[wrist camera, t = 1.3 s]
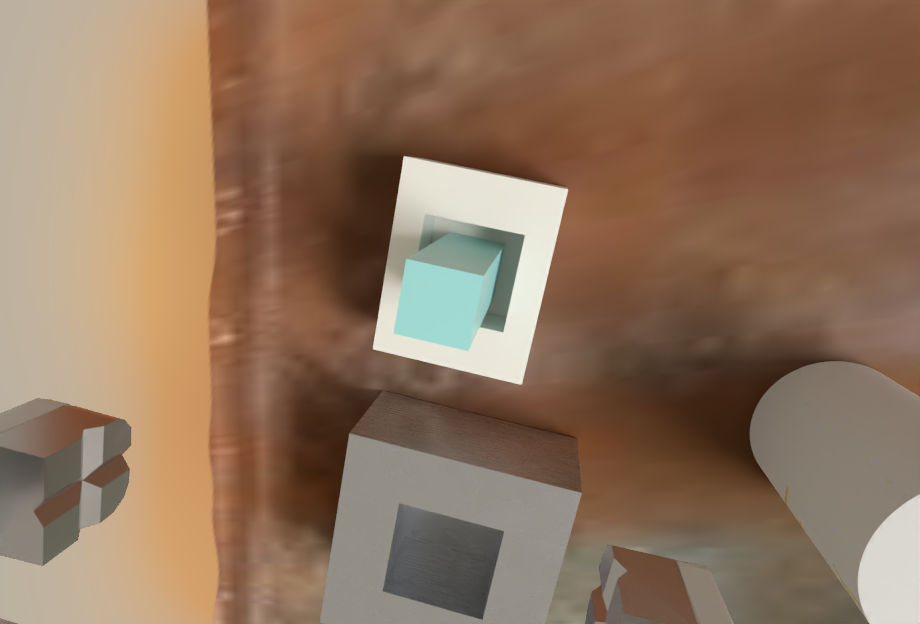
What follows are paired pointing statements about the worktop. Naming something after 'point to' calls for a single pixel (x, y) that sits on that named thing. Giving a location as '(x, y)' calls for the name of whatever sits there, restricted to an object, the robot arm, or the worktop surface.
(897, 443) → the cup
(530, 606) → the port
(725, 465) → the worktop surface
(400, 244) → the white square-hole block
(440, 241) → the plug
